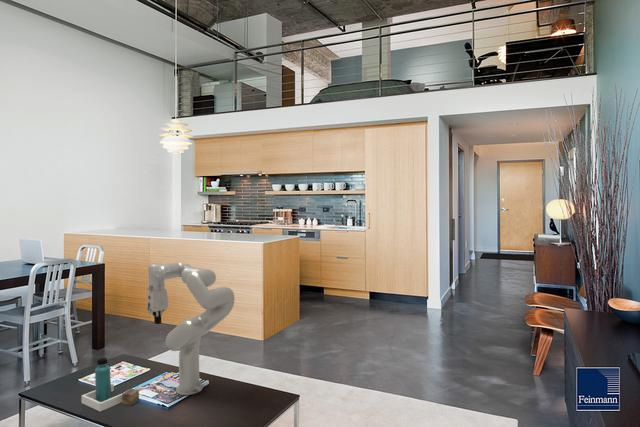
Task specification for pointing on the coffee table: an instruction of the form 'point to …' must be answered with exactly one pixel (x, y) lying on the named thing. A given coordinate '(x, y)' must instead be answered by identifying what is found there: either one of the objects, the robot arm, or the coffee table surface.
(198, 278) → the robot arm
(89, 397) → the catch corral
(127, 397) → the walnut block
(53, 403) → the coffee table surface
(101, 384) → the beverage bottle
